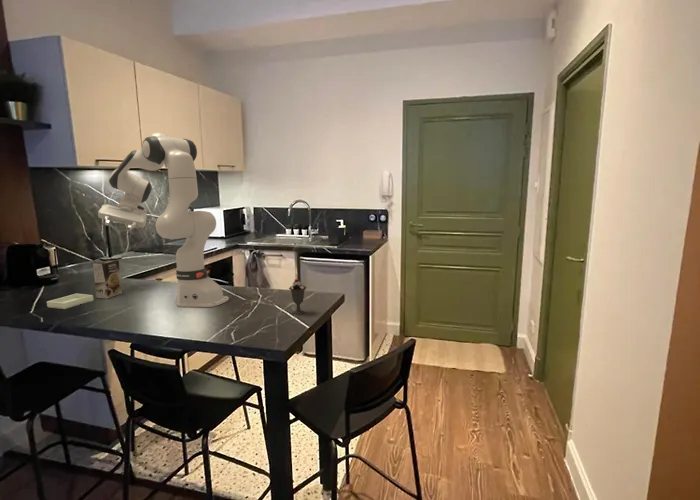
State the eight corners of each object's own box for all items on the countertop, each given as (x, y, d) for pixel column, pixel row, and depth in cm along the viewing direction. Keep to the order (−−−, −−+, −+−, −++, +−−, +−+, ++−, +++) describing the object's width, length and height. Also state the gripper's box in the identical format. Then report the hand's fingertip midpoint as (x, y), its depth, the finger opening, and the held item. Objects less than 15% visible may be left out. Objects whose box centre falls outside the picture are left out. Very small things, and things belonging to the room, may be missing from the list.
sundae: (298, 308, 166) (297, 272, 164) (310, 312, 162) (309, 274, 160) (286, 313, 161) (284, 275, 159) (298, 316, 157) (296, 278, 155)
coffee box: (108, 298, 186) (104, 263, 184) (96, 298, 187) (91, 263, 185) (123, 293, 195) (119, 259, 192) (111, 292, 196) (107, 259, 194)
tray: (93, 300, 183) (92, 295, 183) (64, 309, 171) (63, 303, 171) (76, 298, 187) (76, 293, 186) (47, 307, 174) (46, 301, 174)
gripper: (103, 198, 195) (92, 215, 185) (150, 209, 202) (142, 227, 191) (103, 208, 199) (92, 226, 188) (148, 219, 205) (140, 237, 195)
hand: (117, 226), depth 190 cm, fingers open, 8 cm apart
